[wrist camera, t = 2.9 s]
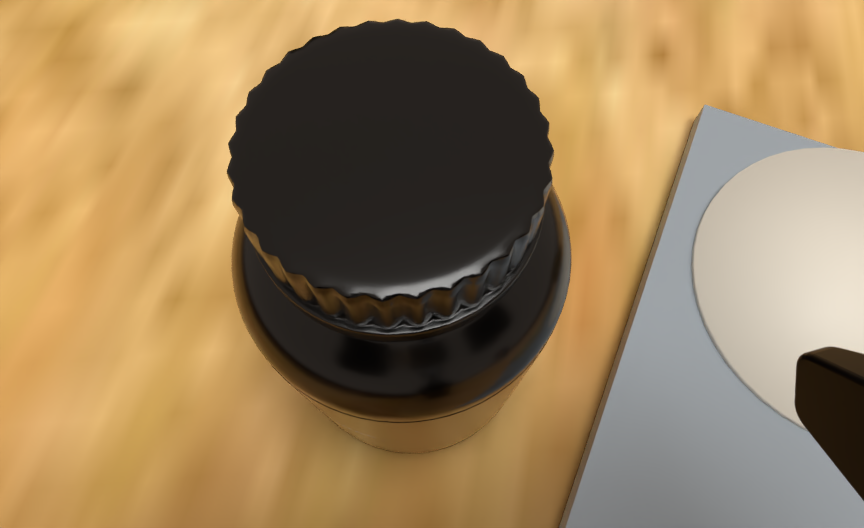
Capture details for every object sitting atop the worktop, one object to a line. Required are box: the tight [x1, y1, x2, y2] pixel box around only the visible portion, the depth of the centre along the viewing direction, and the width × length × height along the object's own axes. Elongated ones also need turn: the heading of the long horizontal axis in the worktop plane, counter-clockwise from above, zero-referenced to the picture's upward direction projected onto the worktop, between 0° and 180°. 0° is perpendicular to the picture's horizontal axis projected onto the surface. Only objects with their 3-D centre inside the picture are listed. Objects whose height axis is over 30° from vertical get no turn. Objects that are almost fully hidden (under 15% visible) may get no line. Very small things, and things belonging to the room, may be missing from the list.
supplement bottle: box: [227, 19, 571, 453], centre depth 14 cm, size 7×7×12 cm
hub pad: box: [691, 148, 864, 431], centre depth 19 cm, size 10×10×1 cm
